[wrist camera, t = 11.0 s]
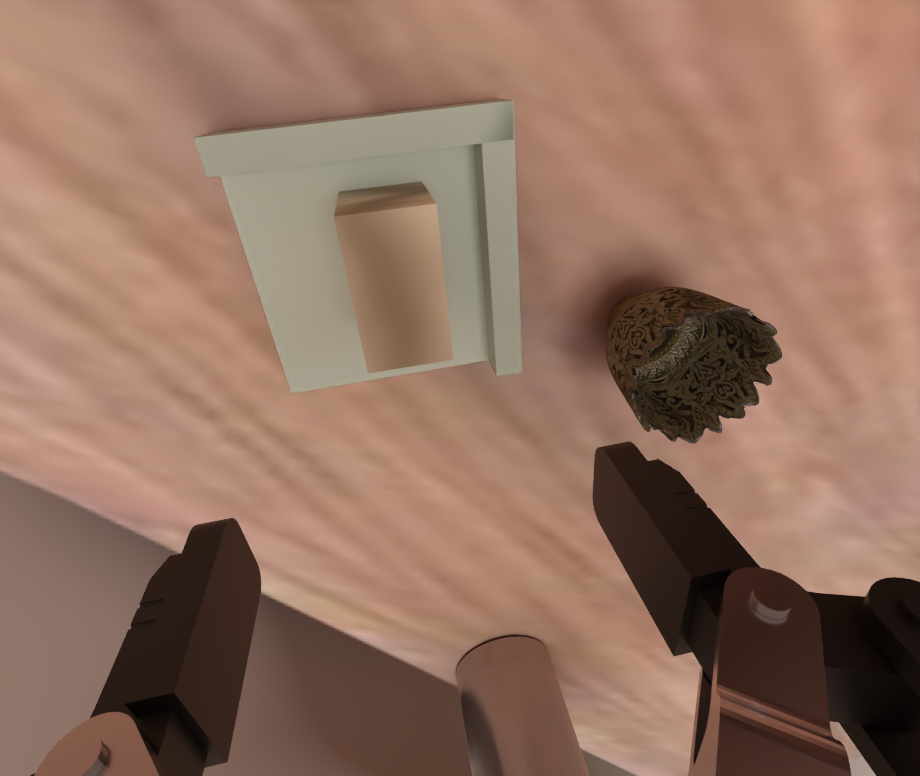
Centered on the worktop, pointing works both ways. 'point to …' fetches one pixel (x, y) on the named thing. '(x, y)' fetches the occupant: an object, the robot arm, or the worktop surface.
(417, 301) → the maple brick
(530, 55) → the worktop surface
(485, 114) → the corner tray
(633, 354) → the cup
